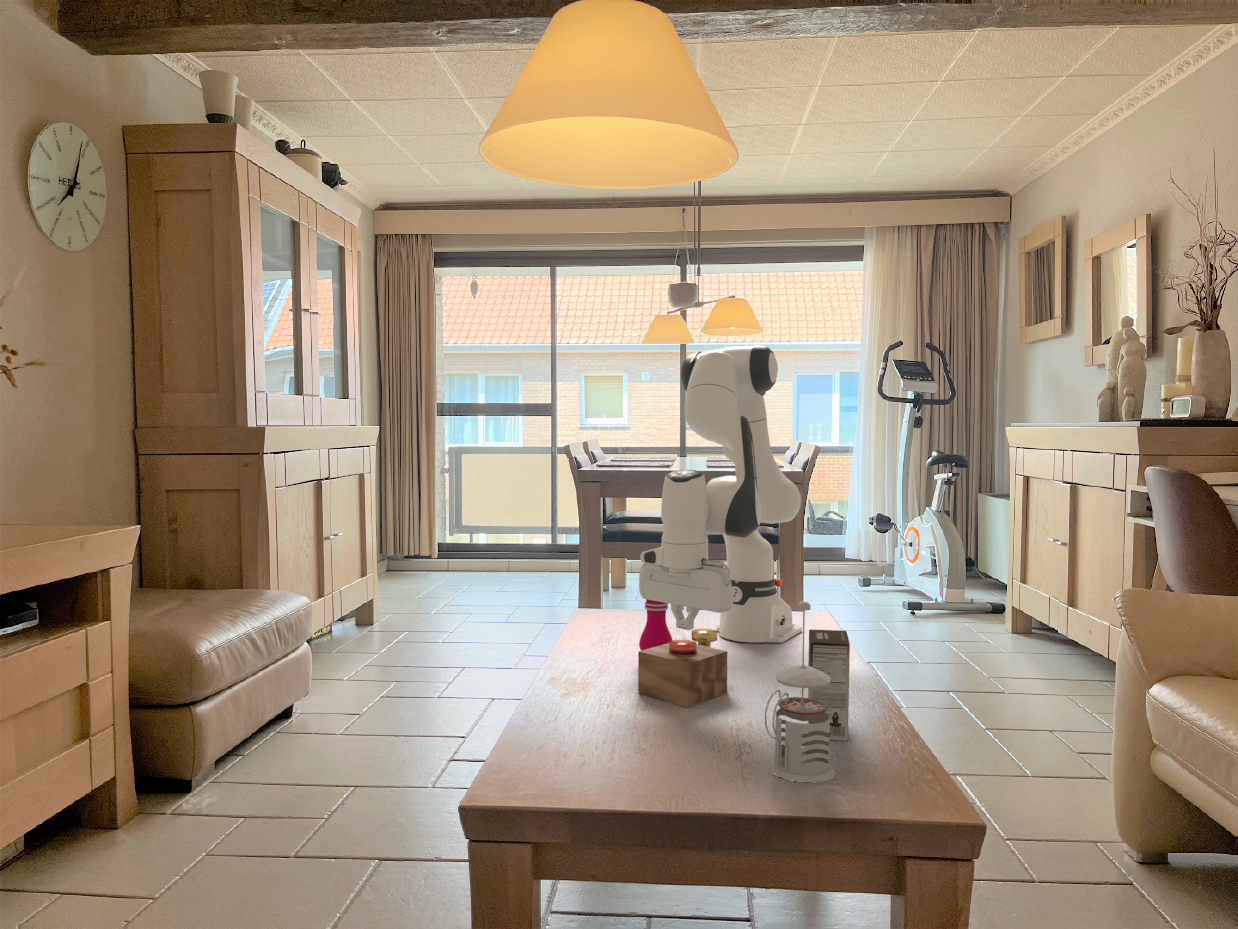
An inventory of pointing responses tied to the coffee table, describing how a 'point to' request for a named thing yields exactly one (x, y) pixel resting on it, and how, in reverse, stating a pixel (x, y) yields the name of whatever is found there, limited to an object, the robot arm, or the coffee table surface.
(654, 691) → the hitch block
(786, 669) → the french press
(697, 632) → the brass pin
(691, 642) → the red round-headed grey cylinder
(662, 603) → the pepper mill
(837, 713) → the coffee box
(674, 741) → the coffee table surface
